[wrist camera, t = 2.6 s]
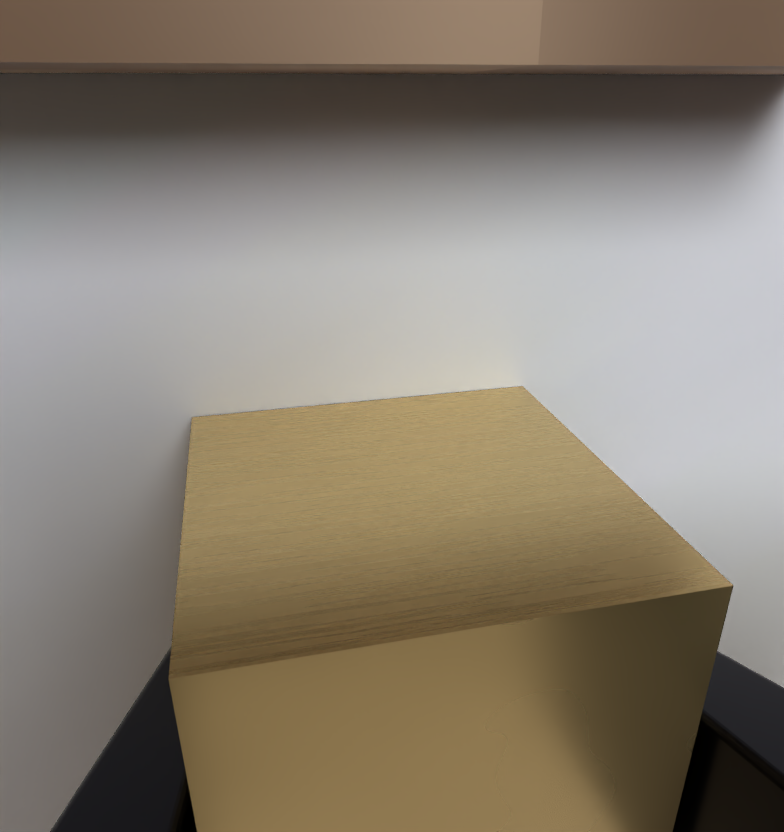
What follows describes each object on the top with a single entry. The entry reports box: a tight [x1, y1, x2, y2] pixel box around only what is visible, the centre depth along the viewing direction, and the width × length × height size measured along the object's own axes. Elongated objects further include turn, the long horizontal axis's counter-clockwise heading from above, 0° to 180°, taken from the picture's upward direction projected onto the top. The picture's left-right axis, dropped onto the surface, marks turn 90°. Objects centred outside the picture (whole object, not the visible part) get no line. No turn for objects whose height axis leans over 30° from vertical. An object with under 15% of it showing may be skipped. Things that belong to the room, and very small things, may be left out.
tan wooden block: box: [169, 386, 733, 832], centre depth 8 cm, size 4×5×4 cm
